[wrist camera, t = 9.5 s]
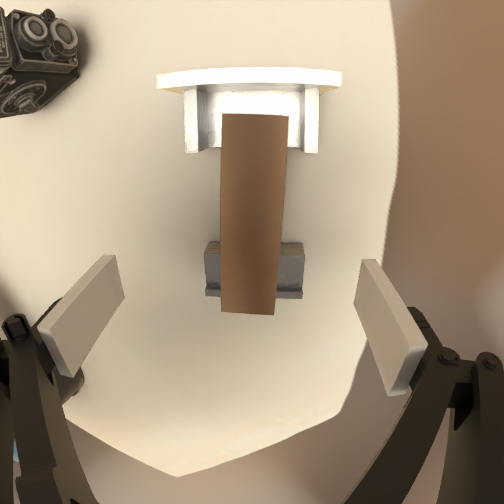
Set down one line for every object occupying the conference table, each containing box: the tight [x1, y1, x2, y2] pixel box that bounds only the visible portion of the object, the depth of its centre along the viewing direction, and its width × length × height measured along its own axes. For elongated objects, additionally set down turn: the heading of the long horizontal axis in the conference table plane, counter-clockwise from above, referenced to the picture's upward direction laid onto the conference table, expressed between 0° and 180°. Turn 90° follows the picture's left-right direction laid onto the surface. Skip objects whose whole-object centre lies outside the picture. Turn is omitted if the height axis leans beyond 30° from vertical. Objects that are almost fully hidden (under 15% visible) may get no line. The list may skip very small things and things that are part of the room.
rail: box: [220, 113, 289, 315], centre depth 25 cm, size 4×16×6 cm, turn 178°
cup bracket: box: [157, 67, 341, 153], centre depth 22 cm, size 12×6×10 cm, turn 90°
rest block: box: [204, 242, 305, 299], centre depth 32 cm, size 10×4×4 cm, turn 90°
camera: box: [0, 7, 79, 118], centre depth 17 cm, size 10×10×15 cm
